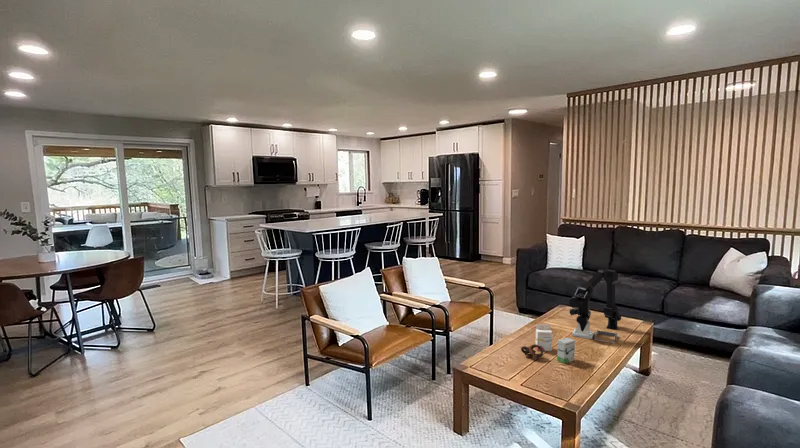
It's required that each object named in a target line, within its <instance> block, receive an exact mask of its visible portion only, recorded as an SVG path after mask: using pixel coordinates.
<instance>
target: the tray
mask: <svg viewBox="0 0 800 448" xmlns="http://www.w3.org/2000/svg"><path fill="white" fill-rule="evenodd" d="M571 335H572V337H577V338H580V339H581V338H582V339H588V340H593V338H594V337H595V331H593V330H590V335H589V336H588V335H582V334H577V328H574V329H573V332H572V334H571Z"/></svg>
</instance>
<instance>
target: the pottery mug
mask: <svg viewBox="0 0 800 448" xmlns="http://www.w3.org/2000/svg"><path fill="white" fill-rule="evenodd" d="M536 347H538V349H540V350H541V351H540V353H536V351H537V350H534V348H535V349H536ZM520 351H521V352H522V353H523V354H524V356H527V355H528V354H530V355H531V356H532V358H531V360H532V361H535V362H536V360H539V359H541V358H542V357H543V355H544V351H543V350H542V348H541V347H540V346H538V345H535V344H531V345H529V346H525V345H524V346H521V348H520Z"/></svg>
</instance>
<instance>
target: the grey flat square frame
mask: <svg viewBox="0 0 800 448" xmlns="http://www.w3.org/2000/svg"><path fill="white" fill-rule="evenodd" d="M599 335H603V336H607V337H614V336H615V337H614V339H613V341H608V340H603V339H597V338H598V336H599ZM617 338H618V333H615V332H611V331H605V330H604V331H603V330H598V329H597V330H596V332H595V334H594V341H600V342H605V343H612V344H616V343H617Z"/></svg>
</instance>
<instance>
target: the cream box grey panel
mask: <svg viewBox="0 0 800 448" xmlns="http://www.w3.org/2000/svg"><path fill="white" fill-rule="evenodd" d="M576 322H577V321H576ZM576 329H577V334H582V335H588V336H589V335H590V331H591V321H588V322H587V325H586V327H585V329H584V331H581V327H580V324H579V323H578V322H577V323H576Z"/></svg>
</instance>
